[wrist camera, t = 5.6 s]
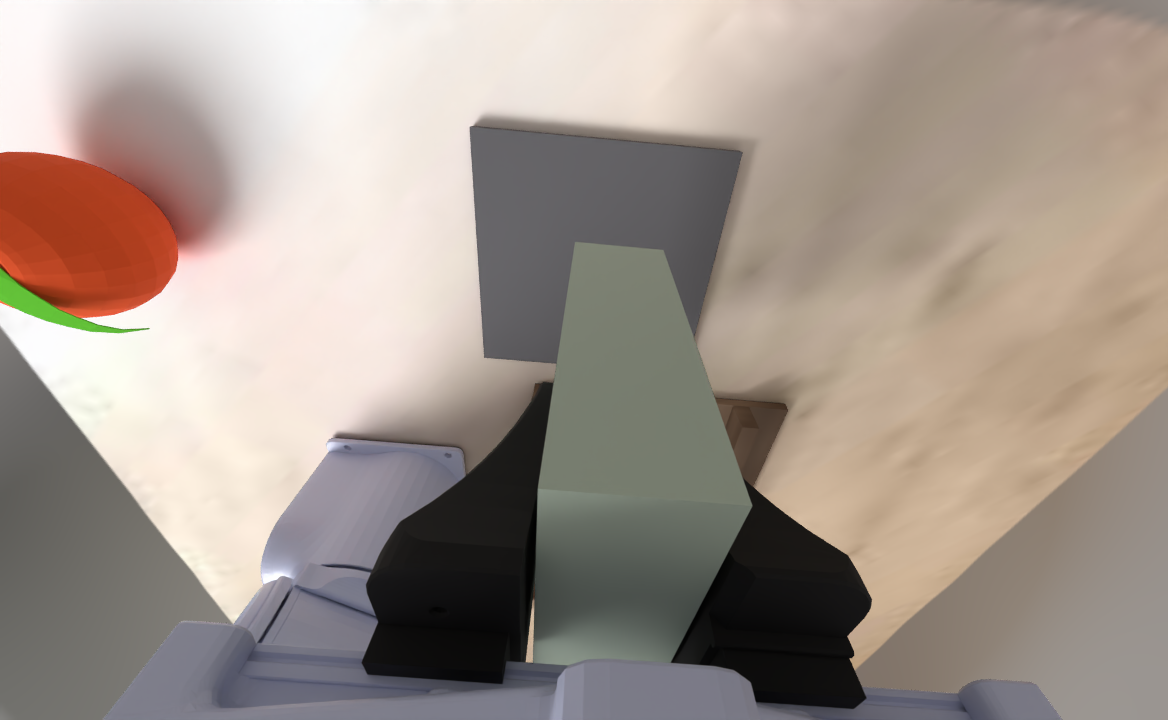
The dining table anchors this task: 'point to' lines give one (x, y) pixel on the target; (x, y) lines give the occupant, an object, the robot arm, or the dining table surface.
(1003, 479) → the dining table surface
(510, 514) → the robot arm
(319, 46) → the dining table surface
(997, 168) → the dining table surface
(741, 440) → the rack
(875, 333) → the dining table surface
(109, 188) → the tomato
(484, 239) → the mat
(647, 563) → the sage panel
